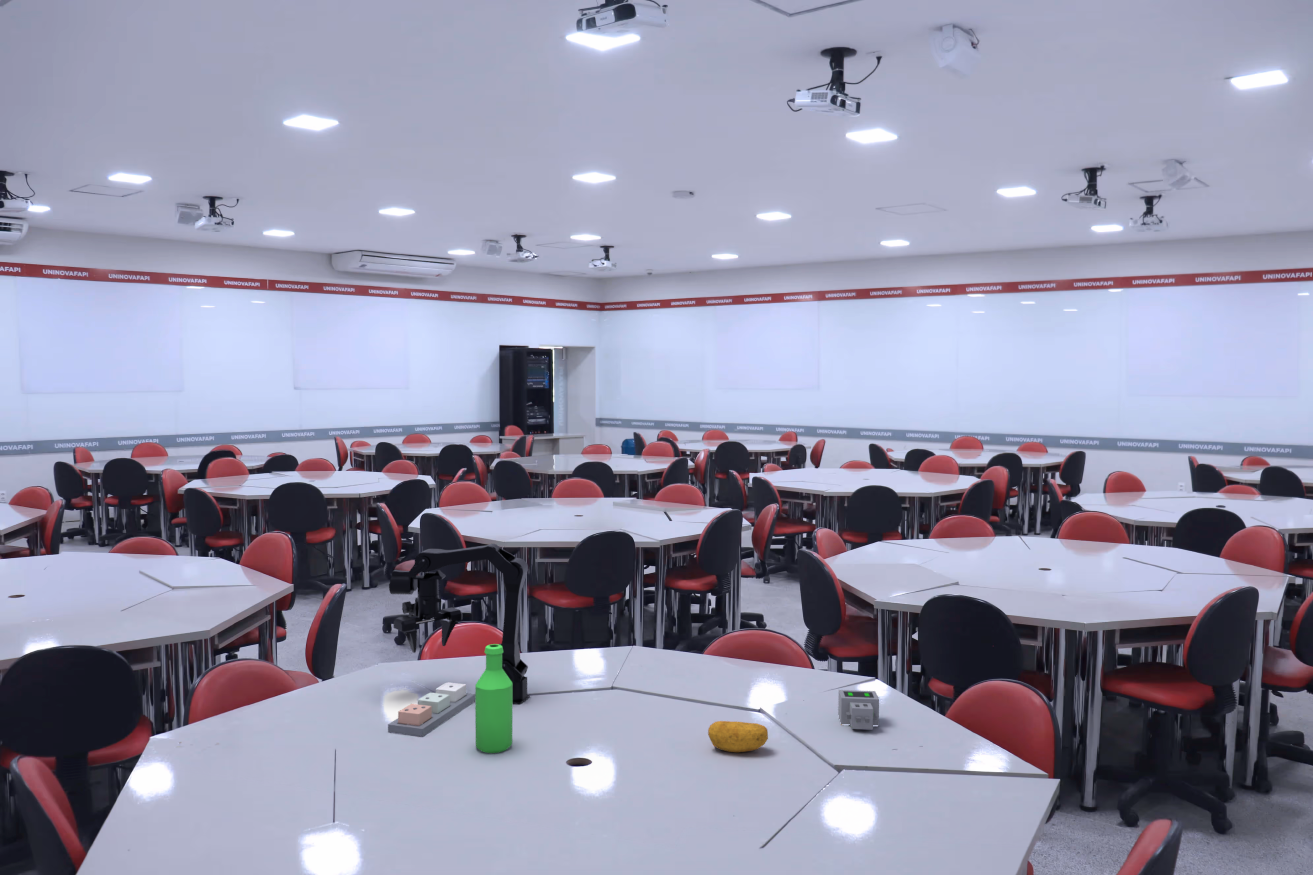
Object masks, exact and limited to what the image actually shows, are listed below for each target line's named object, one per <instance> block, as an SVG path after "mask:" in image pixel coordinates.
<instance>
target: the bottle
mask: <svg viewBox="0 0 1313 875" xmlns="http://www.w3.org/2000/svg"><path fill="white" fill-rule="evenodd" d="M502 653H503V647H502V646H501V645H499V644H498V643H493V644H492V643H491V644H488V645H486V646H485V648H484V654H485V670H484V671H483V673H482V674H481V676H480V677H479V679H478V680H477V681H476V684H475V689H474V690H475V691H474V692H475V693H474V694H475V705H474V706H475V710H474V711H475V713H474V714H475V747H476V749H478V750H479V751H481V752H482V753H485V754H486V753H487V754H497V753H498V754H499V753H502V752H505V751H507V750H508V749H509V748H510V747H511V746H512V745H513V707H514V706H513V704H514V703H513V683H512V681H511V680H510V679H509V677H508V676H507V674H506V673H505V672H504V670H503V669H502Z"/></svg>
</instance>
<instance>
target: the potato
mask: <svg viewBox="0 0 1313 875" xmlns="http://www.w3.org/2000/svg"><path fill="white" fill-rule="evenodd" d="M707 731H708V732H707V734H708V737H709V740H710V742H711V744H712V745H713V746H714V747H715V748H717V749H718V750H721V751H724V752H729V753H745V752H751V751H756V750H758V749H760V748H761V747H762V746H765V744H766V742H768V740H769V735H768V728H767V727H766V726H765V725H762V724H760V723H753V722H745V721H728V720H727V721H726V720H717V721H714V722H713V723H712V724H710V725H709V727H708V729H707Z"/></svg>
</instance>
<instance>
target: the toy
mask: <svg viewBox="0 0 1313 875" xmlns="http://www.w3.org/2000/svg"><path fill="white" fill-rule="evenodd" d="M837 703H838V704H837V705H838V706H837V708H838V709H837V710H838V712H837V713H838V714H837V716H838V715H839V718H838V720H839V719H840V721H839V723H840V722H841V724H850V726H849V727H850V728H851V730H867V731H868V730H872V731H873V730H874V727H873V725H880V724H879V723H880V718H879V717H880V698H879V695H878V694H877V692H876V691H875V690H855V689H854V690H853V689H838V702H837ZM841 724H840V725H841Z"/></svg>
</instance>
